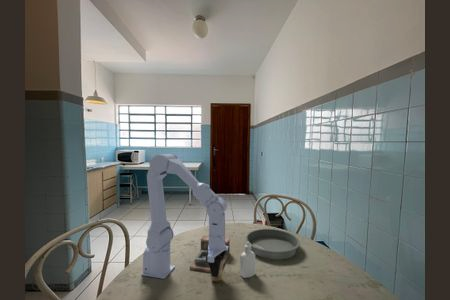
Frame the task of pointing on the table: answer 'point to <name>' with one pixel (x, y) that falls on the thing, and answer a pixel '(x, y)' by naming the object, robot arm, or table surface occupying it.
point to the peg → (219, 272)
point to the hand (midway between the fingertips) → (216, 272)
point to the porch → (200, 260)
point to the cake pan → (273, 243)
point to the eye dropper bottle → (247, 262)
